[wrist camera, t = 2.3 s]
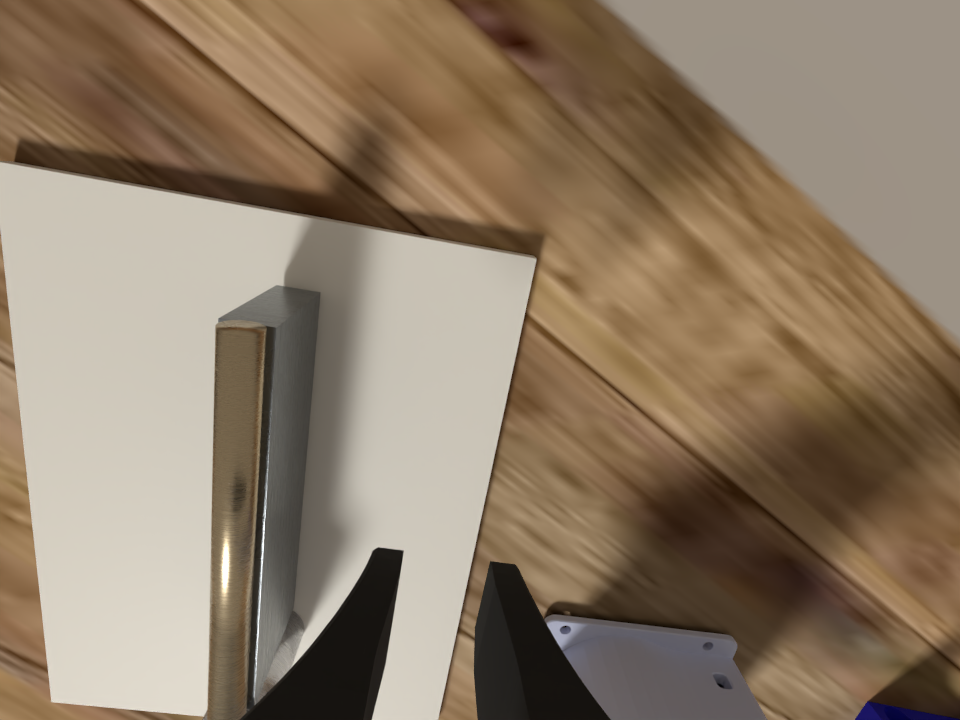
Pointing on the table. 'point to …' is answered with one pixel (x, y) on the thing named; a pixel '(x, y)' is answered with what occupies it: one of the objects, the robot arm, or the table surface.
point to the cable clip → (895, 713)
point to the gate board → (189, 422)
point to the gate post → (283, 654)
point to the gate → (257, 487)
